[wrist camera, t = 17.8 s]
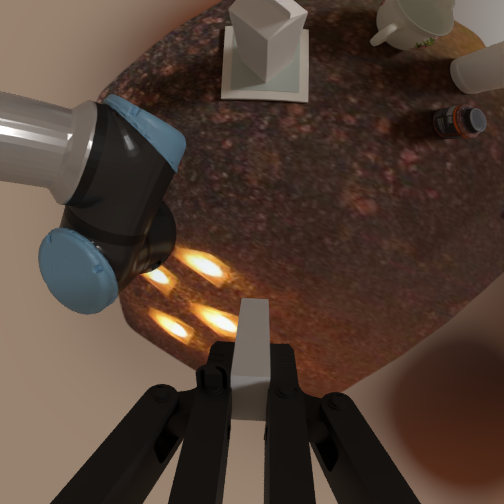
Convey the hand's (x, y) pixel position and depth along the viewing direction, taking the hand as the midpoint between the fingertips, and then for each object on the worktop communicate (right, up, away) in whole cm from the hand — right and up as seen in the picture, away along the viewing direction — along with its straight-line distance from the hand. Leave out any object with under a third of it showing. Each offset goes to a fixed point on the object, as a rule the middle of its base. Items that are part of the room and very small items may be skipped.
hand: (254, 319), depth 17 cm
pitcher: (+26, +44, +21) cm, 55 cm away
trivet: (+2, +35, +25) cm, 43 cm away
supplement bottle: (+36, +28, +26) cm, 52 cm away
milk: (+2, +35, +24) cm, 42 cm away
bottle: (+42, +39, +22) cm, 62 cm away
